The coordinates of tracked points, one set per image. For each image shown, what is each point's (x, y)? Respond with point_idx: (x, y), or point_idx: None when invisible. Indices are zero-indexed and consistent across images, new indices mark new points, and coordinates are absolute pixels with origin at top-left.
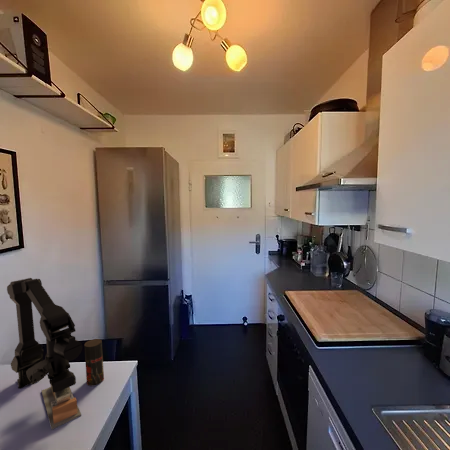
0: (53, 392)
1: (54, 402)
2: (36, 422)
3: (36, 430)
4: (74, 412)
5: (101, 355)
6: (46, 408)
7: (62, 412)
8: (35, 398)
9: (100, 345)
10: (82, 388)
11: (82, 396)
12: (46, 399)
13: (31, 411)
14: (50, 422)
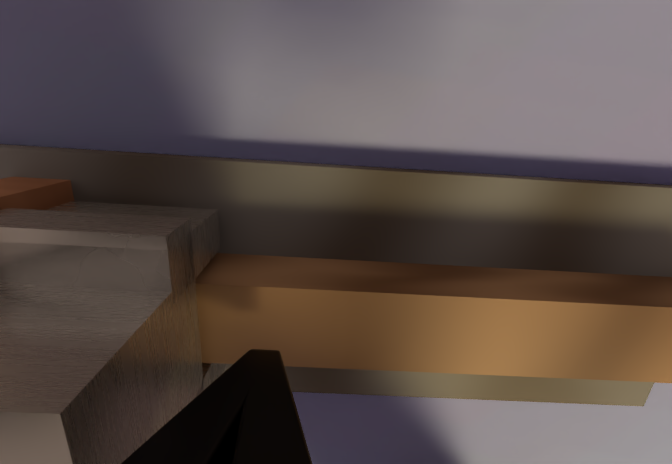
0: (516, 290)
1: (127, 275)
2: (203, 39)
3: (60, 13)
4: None
5: None
6: (337, 169)
7: None
8: (664, 111)
9: None
10: (412, 453)
11: None
12: (507, 200)
13: (453, 28)
14: (59, 154)
